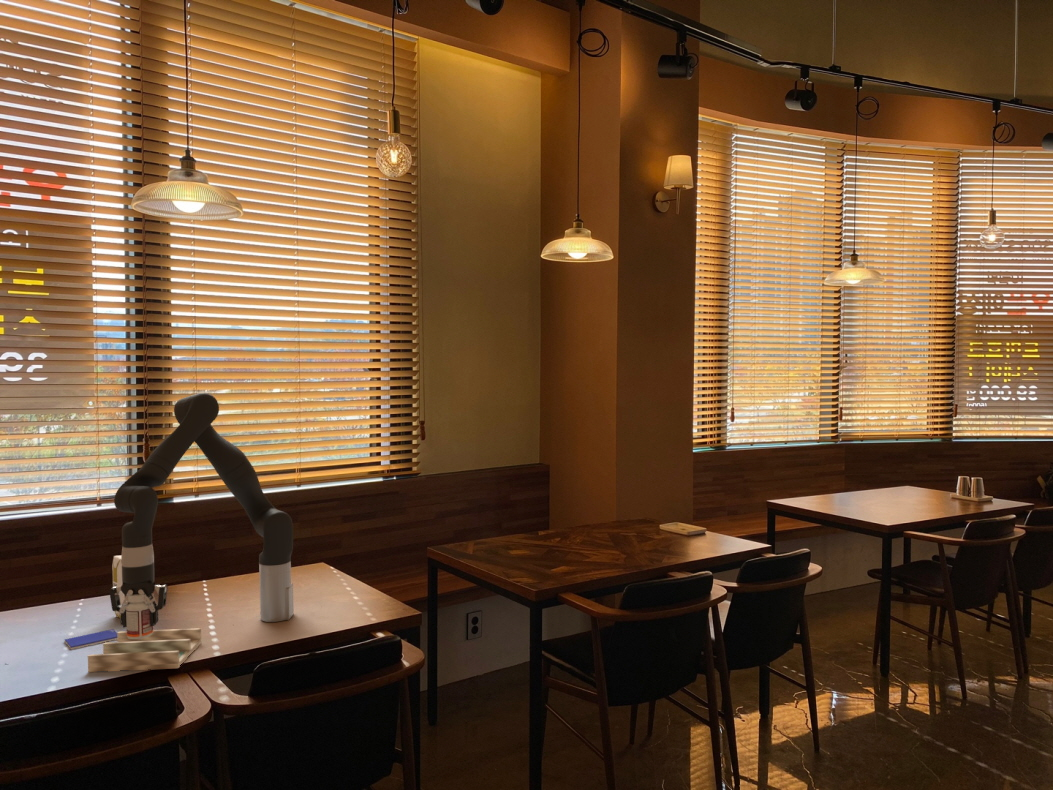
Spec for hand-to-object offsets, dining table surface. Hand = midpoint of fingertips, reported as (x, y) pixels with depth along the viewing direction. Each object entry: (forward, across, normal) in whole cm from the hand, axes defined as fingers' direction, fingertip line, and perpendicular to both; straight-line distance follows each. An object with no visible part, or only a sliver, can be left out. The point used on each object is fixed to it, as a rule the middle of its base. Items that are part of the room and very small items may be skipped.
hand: (139, 625), depth 201 cm
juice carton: (+10, +19, -41) cm, 46 cm away
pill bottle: (+3, 0, 0) cm, 3 cm away
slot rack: (+10, 0, -4) cm, 11 cm away
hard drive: (+11, +21, -19) cm, 30 cm away
